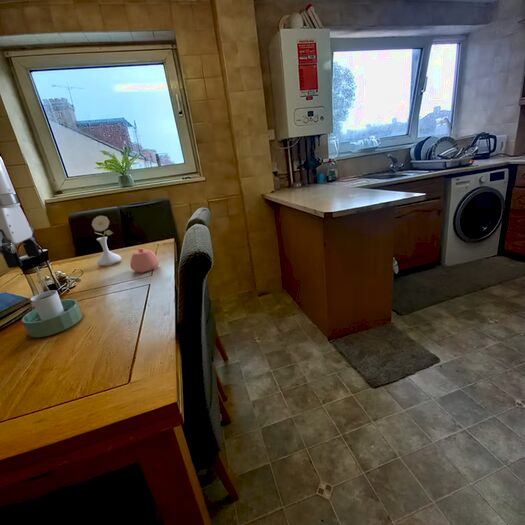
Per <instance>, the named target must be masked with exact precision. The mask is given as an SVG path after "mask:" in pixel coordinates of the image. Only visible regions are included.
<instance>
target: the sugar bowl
mask: <svg viewBox="0 0 525 525" xmlns="http://www.w3.org/2000/svg"><path fill="white" fill-rule="evenodd" d="M129 262H130V269H131V270H132V271H133V272H135V273H140V274H144V273H146V272H149V271H152V270H156V268H157V267H158V266H159V265H160V260H159V258H158V256H157V255H156V253H154V252H153V251H152V250H151V249H149V248H144V247H139V248H138V249H137V250H136V251H134V252H133V253H132V255H131V258H130V261H129Z"/></svg>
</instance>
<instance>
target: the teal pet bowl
mask: <svg viewBox="0 0 525 525" xmlns="http://www.w3.org/2000/svg"><path fill="white" fill-rule="evenodd" d="M60 301H61V304H62V307H63V310H64V313H62V314H60V315H58V316H55V317H52V318H50V319H46V320H41V318H40V316H39V315H38V313H37V311H36V309H35V308H34V309H32V310H30V311H28V312H27V313H25V315H24V316H23V317H22V318H21V323H22V325H23V327H24V329H25V331H26V333H27V335H28V336H29V337H30V338H43V337H49V336H52V335H56V334H59V333H61V332H63V331H65V330H67V329H69V328H71V327H73V326H75V325H76V324H77V323H79V322H80V321H81V320H82V318H83V312H82V310H81V307H80V304H79V301H78V300H77V299H74V298H66V299H60Z"/></svg>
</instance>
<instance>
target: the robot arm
mask: <svg viewBox="0 0 525 525" xmlns="http://www.w3.org/2000/svg"><path fill="white" fill-rule="evenodd" d="M35 236H36V234H35V233H34V227H33V226H31V225H30V223H29V221H28V219H27V217H26V215H25V213H24V211H23V209H22V207H21V203H20V201H19V198H18V195H17V193H16V190H15V189H14V185H13V183H12V180H11V178H10V176H9V173H8V170H7V168H6V165H5V163H4V160H3V159H2V156H0V255H1V256H2V257H3V259H4V261H5V263H6V265H7V268H9V269H12V268H19V267H22V266H23V262H22V260H21V258H20V256H19V253H18V251H16V245H17V244H20V243H23V244H22V245H23V248H24V251H25V254H26V255H27V258H33V257H34V258H35V257H39V256H41V252H40V250H39V247H38V244H37V240H36V238H35Z"/></svg>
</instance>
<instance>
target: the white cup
mask: <svg viewBox="0 0 525 525" xmlns="http://www.w3.org/2000/svg"><path fill="white" fill-rule="evenodd" d="M60 300H61V298H60V295H59V293H58V291H57V290H48V291H43V292H41V293H38V294H35V295H34V296H32V297H31V298H30V301H31V303H32V305H33V307H34V309H36V311H37V313H38V315H39V316H40V318H41V320H46V319H50V318H52V317H55V316H58V315H60V314H62V313H64V310H63V307H62V304H61V301H60Z"/></svg>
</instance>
